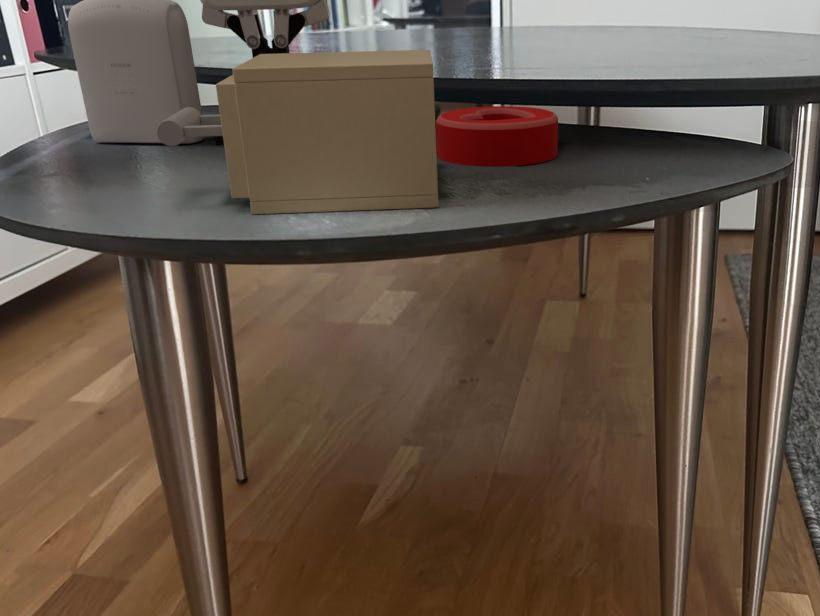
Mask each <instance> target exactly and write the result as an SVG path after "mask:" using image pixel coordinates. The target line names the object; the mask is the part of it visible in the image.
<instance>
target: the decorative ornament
mask: <svg viewBox="0 0 820 616" xmlns="http://www.w3.org/2000/svg"><path fill="white" fill-rule="evenodd" d="M435 128H436V154H437V158H438V159H439V160H440V161H443V162H446V163H450V164H453V165H454V164H455V165H462V166H471V167H516V166H517V167H518V166H519V167H520V166H529V165H534V164H539V163H541V164H542V163H544V162H548V161H551V160H554V159H555V158H556V157H557V156H558V153H559V152H558V151H559V147H558V146H559V145H558V144H559V117H558V115H557V114H556V113H555V112H553V111H552V110H548V109H544V108H539V107H530V106H516V105H515V106H513V105H511V106H510V105H506V106H505V105H502V106H500V105H495V106H493V105H491V106H477V107H476V106H475V107H474V106H473V107H466V108H465V107H464V108H458V109H453V110H448V111H445V112H443V113H441V114H439V115H438V116H437V118H436V119H435Z"/></svg>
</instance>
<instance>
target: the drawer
mask: <svg viewBox="0 0 820 616" xmlns="http://www.w3.org/2000/svg"><path fill="white" fill-rule="evenodd" d="M234 84H235V82H234V78H233V74H231V75H229V76H228V77H226V78H225V79H223V80H221V81H219V82H218V83H215V89H216V97H217V98H216V99H217V104H218V111H219V114H217V113H216V114H202V115H201V114H200V112H199V111H198V110H196V109H195V108H192V107H186V108H184V109H182V110H180V111H179V112H177V113H175V114H174V115H172V116H170V117H169V118H167V119H165V120H164V121H162V122H160V123H159V125H158V127H157V136H158V138H159V140H160V141H161V142H162V143H161V144H163V145H165V146H167V147H176V146H179V145H181V144H180V143H181V142H182V141H184V140H185V139H186V138H188V137H204V138H205V137H215V136H223V140H224V145H223V146H224V154H225V160H226V167H227V175H228V181H229V188H230V189H229V190H230V196H231V199H250V198H249V191H248V183H247V176H246V168H245V161H244V153H243V146H242V138H241V131H240V123H239V116H238V108H237V101H236V93H235V86H234Z"/></svg>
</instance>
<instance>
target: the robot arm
mask: <svg viewBox="0 0 820 616" xmlns="http://www.w3.org/2000/svg"><path fill="white" fill-rule="evenodd" d="M199 1H200V3H201V4H202V7H201V9H202V10H201V20H202V22H204V24H206V25H209V26H213V27H217V28H223V29H228V30H231V31H232V32H233V33H234V34H235V35H236V36H237V37H238V38H240V39H241V40H242V41H243V42H244V43H245V44H246V46H247V47H248V48H249V49H251V56H252V58H254V57H256V56H258V55H259V54H283V53H290V47H289V46H290V45H291V44H292V42H293V41H294V40H295V39H296V37H297V36H298V34H299V33H300V32H301V31H302V30H303V29H304V28H306V27H308V26H312V25H315V24H318V23H323V22H325V21H327V20H328V19H329V18H330V16H331V14H330V10H329V6H328V3H327V0H199ZM304 8H305V9H306V8H308V9H306V10H302V11H299V12H296V13H294V10H297V9H304ZM265 10H274V11H273V12H274V15H273V16H274V17H273V39H271V41H270V42H271V47H270V45H269V41H268V39H267V38H266V37H265V34H264V30H263V26H262V23H261V18H260V15H259V11H265ZM227 11H228V12H227ZM229 11H236V12H237V13H231V12H229Z"/></svg>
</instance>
